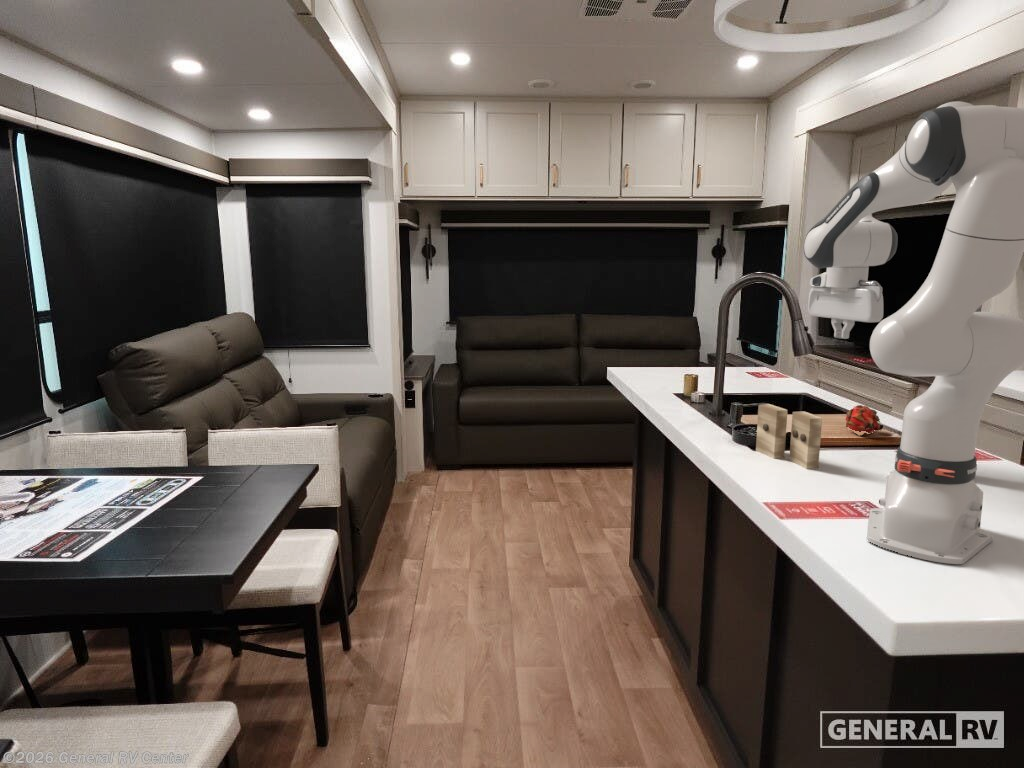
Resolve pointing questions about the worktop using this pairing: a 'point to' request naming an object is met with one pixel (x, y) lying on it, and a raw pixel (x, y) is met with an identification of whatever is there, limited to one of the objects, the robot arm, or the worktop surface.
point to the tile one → (771, 430)
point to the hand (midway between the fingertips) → (841, 338)
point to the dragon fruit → (863, 419)
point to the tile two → (805, 439)
